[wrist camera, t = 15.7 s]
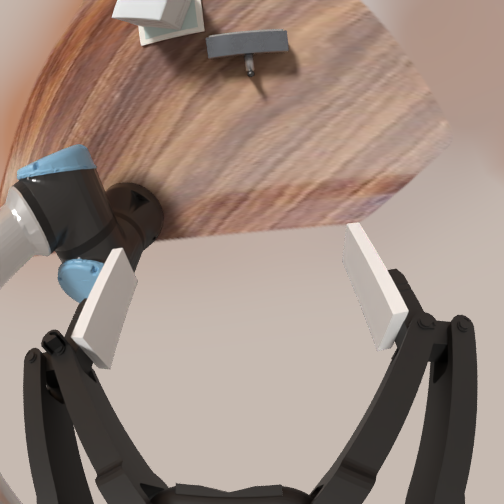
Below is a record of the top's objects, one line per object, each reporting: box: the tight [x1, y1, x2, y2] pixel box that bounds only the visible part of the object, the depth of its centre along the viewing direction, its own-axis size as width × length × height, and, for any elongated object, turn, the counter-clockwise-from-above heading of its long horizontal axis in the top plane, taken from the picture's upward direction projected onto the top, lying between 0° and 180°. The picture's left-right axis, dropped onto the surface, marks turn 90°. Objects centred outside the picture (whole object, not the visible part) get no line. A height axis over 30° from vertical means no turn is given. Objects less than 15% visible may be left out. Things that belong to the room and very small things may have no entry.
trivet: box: [138, 0, 205, 46], centre depth 31 cm, size 11×11×1 cm
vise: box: [206, 29, 289, 77], centre depth 30 cm, size 12×24×5 cm, turn 6°
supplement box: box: [112, 0, 191, 30], centre depth 25 cm, size 7×7×13 cm
